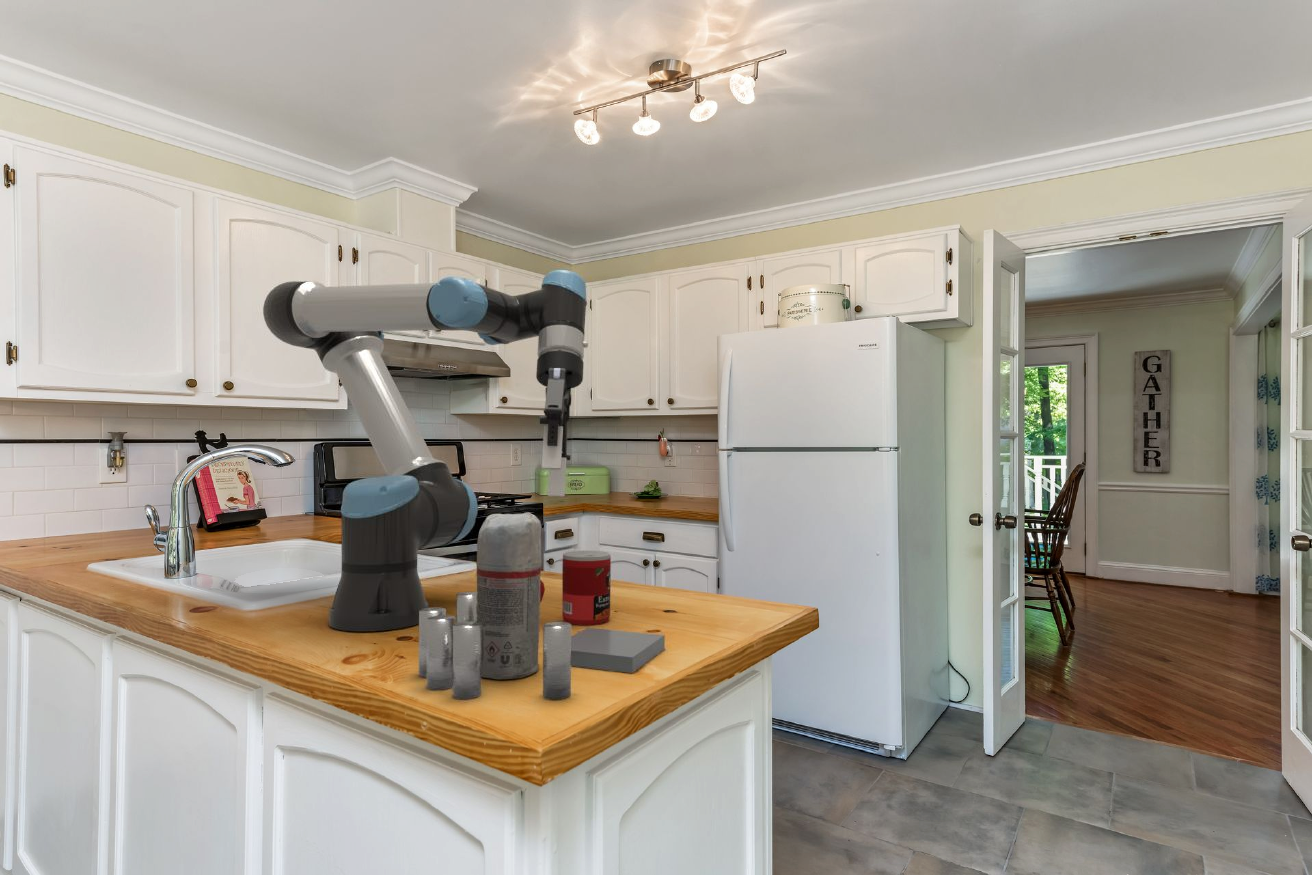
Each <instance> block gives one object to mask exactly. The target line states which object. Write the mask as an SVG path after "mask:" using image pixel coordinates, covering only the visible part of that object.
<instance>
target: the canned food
mask: <svg viewBox="0 0 1312 875" xmlns="http://www.w3.org/2000/svg"><path fill="white" fill-rule="evenodd" d="M611 558H612V557H611V553H610V552H607V551H603V550H602V551H601V550H572V551H566V552H564V553H563V554H562V565H561V566H562V569H561V570H562V574H561V575H562V578H561V579H562V584H561V585H562V593H561V594H562V595H561V596H562V599H561V600H562V604H561V605H562V607H561V608H562V615H561V616H562V618H563V622H566V623H570V624H571V625H574V626H597V625H602V624H605V623H607V622H609V620H610V618H611V582H612V581H611V580H612V579H611V574H612V573H611V571H612V569H611V568H612V562H611Z"/></svg>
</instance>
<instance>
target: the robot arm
mask: <svg viewBox="0 0 1312 875" xmlns="http://www.w3.org/2000/svg"><path fill="white" fill-rule="evenodd" d="M540 288H541V289H538V290H537V289H536V290H533V291H530V292H527V293H522V294H517V295H510V294H507V293H504V292H501V291H499V290H497V289H494V288H490V287H488V286H485V285H483V284H481V283H480V284H479V283H478V282H475V281H473V280H471V279H469V278H463V277H458V276H446V277H443V278H442V279H440V280H439V281H437V282H435V283H433V282H431V283H405V284H404V283H402V284H401V283H400V284H376V285H375V284H373V285H371V284H369V285H346V286H345V285H342V286H341V285H340V286H337V285H336V286H325V285H324V284H323V283H320V282H319V281H315V280H312V281H310V280H309V281H306V280H304V281H299V280H298V281H293V280H292V281H285V282H283V283H279V284H278V285H276V286H275V287H274V288H273V289H271V290H270V291H269V292H268V294H267V296H266V297H265V300H264V303H263V307H262V314H263V319H264V322H265V325H266V327H267V328H268V329H269V332H270V333H271V334H272V335H273V336H274V337H276V338H277V339H278V340H280V341H282V342H283V343H285V344H287V345H290V346H294V347H299V348H304V349H309V350H314V351H315V352H316V354H317V356H318V358H319V360H320V363H321V364H322V366H323V368H324V369H325V370H327V371H328V372H330V373H334V374H336V375H337V377H338V379H339V381H340V383H341V385H342V387H343V389H344V391H345V393H346V396H347V397H348V399H349V401H350V403H351V405H352V408H353V409H354V411H355V413H356V415H357V417H358V419H359V421H360V423H361V426H362V428H363V429H364V431H365V434H366V435H367V437H368V440H369V442H370V444H371V445H372V448H373V449H374V452H375V454H376V456H377V458H378V459H379V462H380V465H382V467H383V470H384V472H385V474H386V475H382V476H379V477H378V476H375V477H374V476H373V477H367V478H362V479H357V480H354V481H352V482H350V483H348V484H347V485H346V486H345V488H344V489H343V491H342V502H341V503H342V504H341V507H340V512H341V572H340V574H341V575H340V579H339V582H338V584H337V588H336V591H335V595H334V598H333V602H332V605H331V606H330V609H329V611H328V626H329V627H331V628H332V629H335V630H341V631H345V632H347V631H348V632H379V631H389V630H397V629H403V628H408V627H412V626H416V625H419V610H421V609H424V608H429V604H428V601H427V600H426V598H425V593H424V590H423V585H422V583H421V580H420V576H419V573H418V552H419V551H418V550H422V549H428V548H434V547H444V546H448V545H450V544H452V543H456V542H457V541H461V540H462V539H463V538H465V537H466V536H468V534H469V533H470V532H471V530H472V529H473V527H474V526H475V523H476V518H477V516H478V510H479V508H478V500H477V497H476V494H475V492H474V491H473V488H471V487H470V485H468V484H467V483H466V482H464V481H462V480H459V479H457V478H454V477H453V475H452V472H451V471H450V469H449V467H448V466H447V463H446V462H445V461H443V460H440V459H436V458H434V456H433V455H432V453H431V451H430V449H429V448H428V445H427V443H426V441H425V439H424V437H423V436H422V433H421V432H420V430H419V427H418V426H417V424H416V422H415V420H414V418H413V416H412V414H411V412H410V410H409V408H408V406H407V405H406V402H405V400H404V399H403V396H402V394H401V393H400V391H399V389H398V386H397V385H396V383H395V381H394V379H393V377H392V375H391V373H390V371H389V370H388V367H387V365H386V363H385V362H384V360H383V357H382V356H381V354H382V353H383V351H384V349H385V348H384V346H385V345H384V338H385V334H384V333H383V332H388V331H389V332H396V331H397V332H399V331H400V332H401V331H402V332H403V331H406V332H407V331H451V332H453V331H464V332H465V331H466V332H471V333H472V332H473V333H475V334H477V335H478V337H479V338H480V339H482V340H483V342H484V343H485V344H487V345H490V346H496V345H509V344H511V343H513V342H518V341H523V340H526V339H531V338H536V337H537V338H538V340H537V353H536V354H537V360H536V361H537V362H536V375H535V378H536V380H537V382H538V383H539V384H540V385H542V386H544V387H545V403H544V409H543V414H544V416H542V415H541V416H540V415H539V425H544V426H543V438H542V440H543V441H542V442H543V443H542V458H541V469H542V470H548V483H547V497H548V498H549V497H551V498H554V497H555V498H558V497H559V498H565V497H566V496H565V494H566V478H567V461H571V458H572V457H571V455H568V454H567V453H568V452H567V451H568V450H567V448H568V446H567V445H568V422H569V421H570V416H571V415H570V414H571V411H570V410H571V409H570V408H571V406H572V389H575V388H576V387H579V386H580V385H581V384H582V382H583V379H584V355H585V354H584V353H585V349H586V348H588V347H589V343H588V341H585V330H586V329H585V324H586V312H587V311H586V310H587V309H586V308H587V305H588V301H587V286H586V282H585V279H584V278H583V277H582V276H581V275H579V274H578V273H576V272H574V271H571V270H566V269H557V270H552V271H550V272H548V273H547V274H546V275H545V276H543V279H542V283H541V287H540Z"/></svg>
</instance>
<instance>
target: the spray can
mask: <svg viewBox="0 0 1312 875" xmlns="http://www.w3.org/2000/svg"><path fill="white" fill-rule="evenodd" d="M541 535H542V523H541V520H540V519H539V518H538V517H537V516H536V515H534V514H532V513H531V512H524V513H513V514H511V513H506V514H505V513H504V514H502V513H493V514H490V515H488V516H487V517H486V518H485V520H484V521H483V523H482V525H481V527H480V529H479V532H478V537H477V541H476V542H477V543H476V546H477V547H476V592H477V606H476V613H477V618H476V619H477V621H476V622H480V623H481V624H482V647H481V678H487V679H494V680H511V679H512V680H513V679H522V678H525V677H528V676H531V675H533V674H535V673H537V672H538V671H539V669H540V663H539V643H540V620H541V619H540V615H541V608H540V607H541V606H540V605H541V603H540V580H541V576H540V575H542V574H541V573H542V542H541V541H542V536H541Z"/></svg>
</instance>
